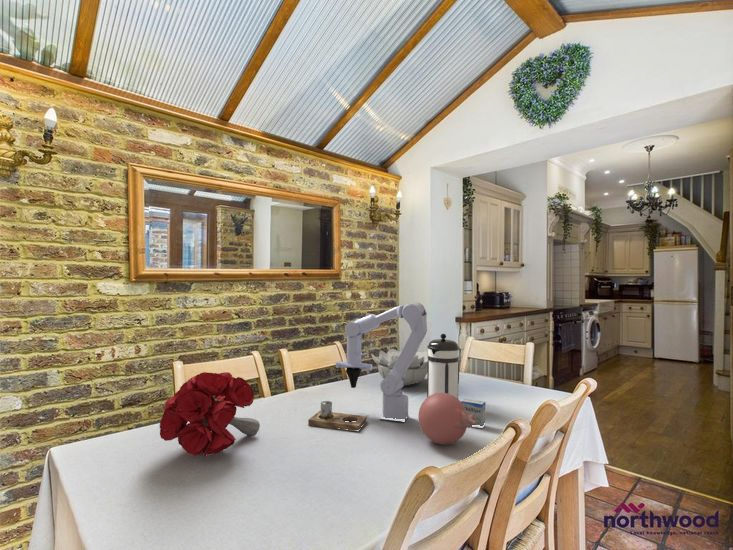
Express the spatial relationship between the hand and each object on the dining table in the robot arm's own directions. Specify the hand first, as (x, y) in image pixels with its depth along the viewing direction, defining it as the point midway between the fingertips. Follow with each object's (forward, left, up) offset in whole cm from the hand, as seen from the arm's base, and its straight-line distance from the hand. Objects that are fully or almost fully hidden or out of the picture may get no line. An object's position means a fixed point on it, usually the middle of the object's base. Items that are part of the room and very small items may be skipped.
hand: (353, 387), depth 150 cm
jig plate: (+1, +14, -9) cm, 17 cm away
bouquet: (+28, +45, -10) cm, 54 cm away
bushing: (+6, +14, -9) cm, 18 cm away
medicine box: (-45, 0, -10) cm, 46 cm away
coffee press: (-33, -18, -10) cm, 39 cm away
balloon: (-38, +20, -10) cm, 44 cm away
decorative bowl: (-11, -48, -10) cm, 50 cm away
